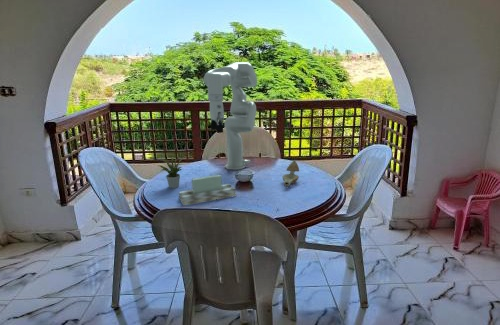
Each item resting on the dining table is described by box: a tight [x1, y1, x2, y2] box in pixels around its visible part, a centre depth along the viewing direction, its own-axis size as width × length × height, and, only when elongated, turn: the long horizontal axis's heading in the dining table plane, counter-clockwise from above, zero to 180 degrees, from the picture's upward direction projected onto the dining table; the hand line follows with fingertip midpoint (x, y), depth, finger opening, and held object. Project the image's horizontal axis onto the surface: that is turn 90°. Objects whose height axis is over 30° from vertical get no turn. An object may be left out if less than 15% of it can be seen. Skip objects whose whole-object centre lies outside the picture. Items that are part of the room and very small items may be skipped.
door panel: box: [191, 174, 223, 194], centre depth 162 cm, size 14×2×9 cm, turn 113°
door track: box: [178, 183, 237, 206], centre depth 163 cm, size 26×10×4 cm, turn 114°
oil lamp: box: [282, 159, 300, 187], centre depth 180 cm, size 9×21×10 cm, turn 162°
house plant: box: [157, 156, 186, 189], centre depth 178 cm, size 14×14×16 cm
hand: (217, 131), depth 176 cm, fingers open, 9 cm apart
